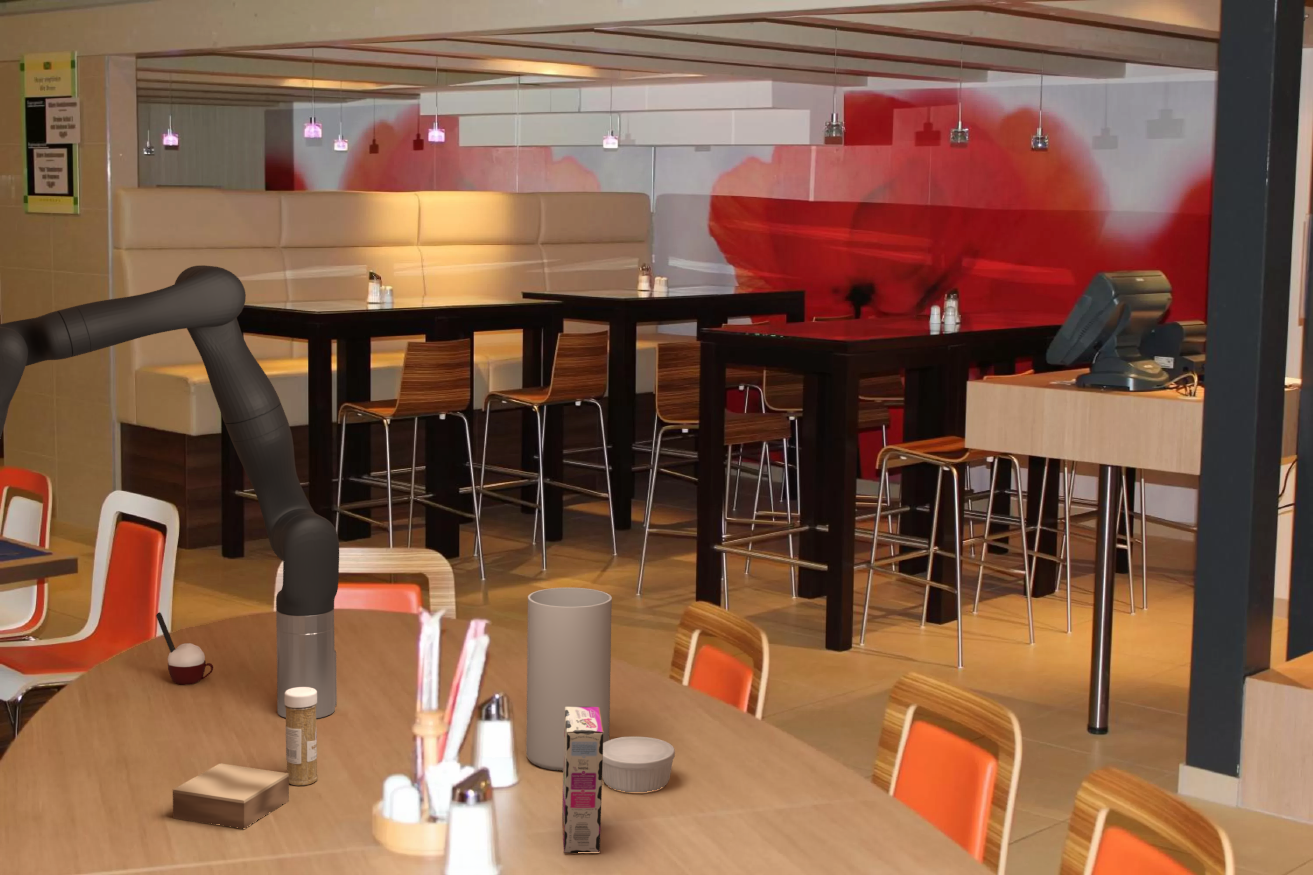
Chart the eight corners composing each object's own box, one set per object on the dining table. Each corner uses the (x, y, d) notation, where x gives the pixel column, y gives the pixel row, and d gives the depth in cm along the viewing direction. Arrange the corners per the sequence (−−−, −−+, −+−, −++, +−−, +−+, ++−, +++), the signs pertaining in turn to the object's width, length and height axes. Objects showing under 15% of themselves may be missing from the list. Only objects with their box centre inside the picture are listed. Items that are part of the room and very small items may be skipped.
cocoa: (217, 682, 271) (220, 615, 269) (194, 690, 265) (197, 622, 263) (173, 673, 274) (176, 607, 273) (149, 681, 268) (152, 613, 267)
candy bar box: (602, 854, 199) (604, 731, 197) (563, 855, 199) (565, 731, 196) (598, 821, 210) (600, 704, 208) (561, 822, 210) (563, 704, 207)
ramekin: (618, 802, 218) (618, 765, 217) (584, 776, 227) (585, 741, 227) (688, 790, 223) (689, 755, 222) (652, 765, 233) (653, 731, 232)
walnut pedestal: (220, 790, 219) (220, 763, 218) (289, 800, 215) (288, 773, 215) (173, 817, 208) (172, 789, 208) (244, 829, 205) (243, 800, 204)
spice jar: (322, 782, 222) (321, 692, 221) (292, 788, 220) (291, 696, 218) (311, 773, 226) (310, 683, 224) (280, 778, 224) (279, 688, 222)
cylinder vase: (577, 778, 226) (580, 611, 223) (509, 761, 233) (511, 599, 229) (624, 754, 237) (627, 595, 233) (558, 739, 243) (560, 583, 240)
